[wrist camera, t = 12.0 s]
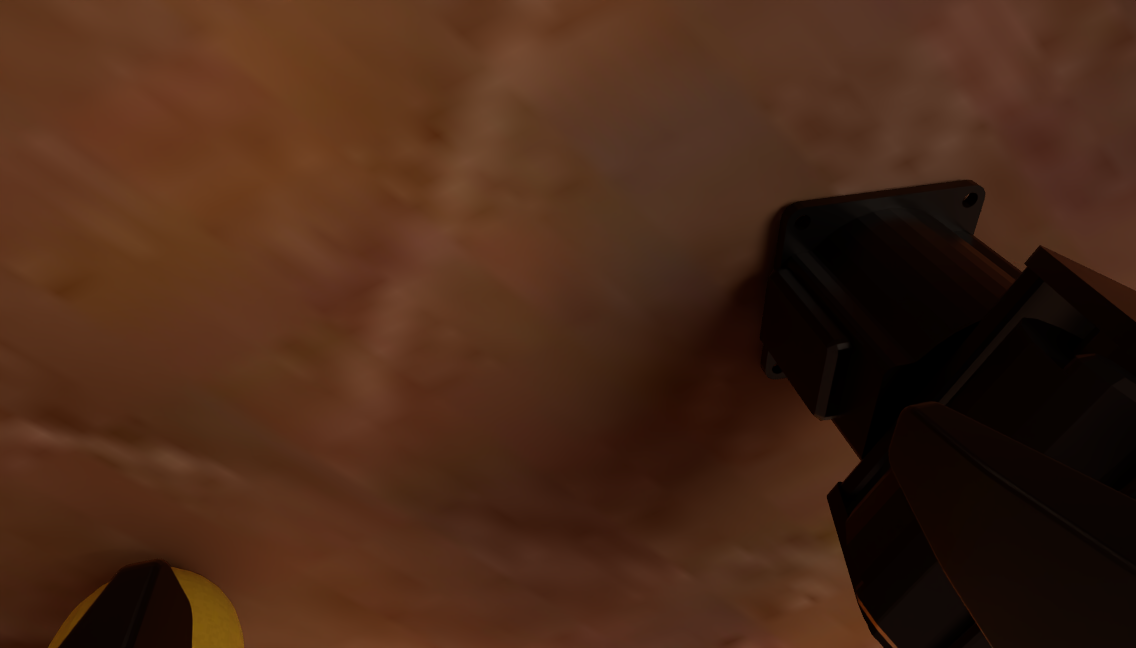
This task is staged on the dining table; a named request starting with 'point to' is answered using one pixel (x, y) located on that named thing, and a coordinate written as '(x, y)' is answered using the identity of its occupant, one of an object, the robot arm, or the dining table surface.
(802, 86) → the dining table surface
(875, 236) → the robot arm
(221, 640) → the lemon
